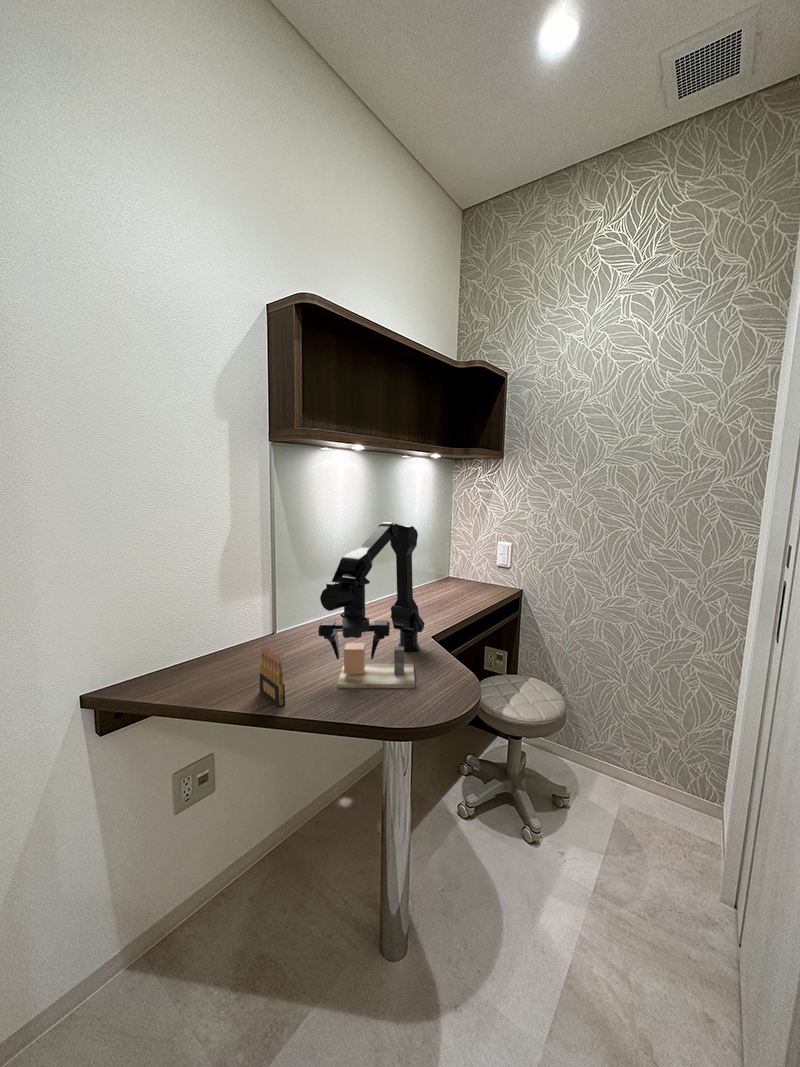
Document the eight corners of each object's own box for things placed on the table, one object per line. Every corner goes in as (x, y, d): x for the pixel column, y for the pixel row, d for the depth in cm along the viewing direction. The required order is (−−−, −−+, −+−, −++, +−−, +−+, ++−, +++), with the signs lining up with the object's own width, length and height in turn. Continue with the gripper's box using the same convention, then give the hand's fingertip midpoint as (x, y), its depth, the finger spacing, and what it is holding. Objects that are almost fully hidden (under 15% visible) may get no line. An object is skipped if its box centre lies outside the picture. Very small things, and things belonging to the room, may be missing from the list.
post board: (343, 667, 131) (343, 639, 130) (413, 667, 131) (413, 639, 130) (337, 687, 117) (336, 657, 116) (414, 687, 117) (414, 657, 116)
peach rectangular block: (346, 666, 127) (346, 642, 126) (365, 666, 127) (365, 643, 126) (344, 673, 121) (343, 649, 121) (363, 673, 121) (363, 649, 121)
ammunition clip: (259, 692, 115) (258, 645, 114) (266, 690, 116) (265, 644, 115) (278, 707, 107) (276, 657, 105) (285, 705, 108) (284, 655, 107)
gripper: (314, 610, 114) (315, 670, 116) (388, 610, 114) (388, 670, 116) (321, 599, 125) (322, 655, 127) (389, 599, 125) (389, 654, 127)
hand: (355, 659), depth 124 cm, fingers open, 9 cm apart
